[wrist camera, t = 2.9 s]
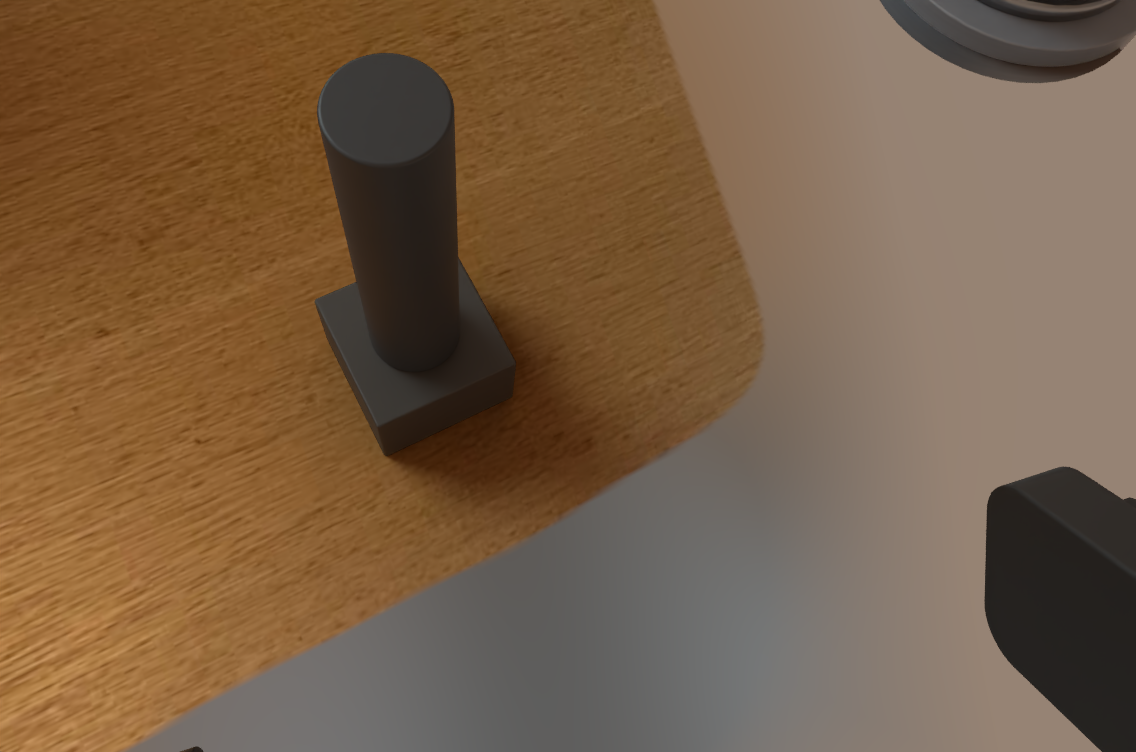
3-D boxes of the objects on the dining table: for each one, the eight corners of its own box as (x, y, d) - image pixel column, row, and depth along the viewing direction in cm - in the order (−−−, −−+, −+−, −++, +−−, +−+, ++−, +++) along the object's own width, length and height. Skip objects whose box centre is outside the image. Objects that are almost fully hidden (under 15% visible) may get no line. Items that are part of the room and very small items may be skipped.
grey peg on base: (451, 284, 34) (439, -16, 21) (513, 397, 33) (540, 155, 20) (326, 338, 33) (231, 59, 20) (385, 457, 32) (325, 244, 19)
